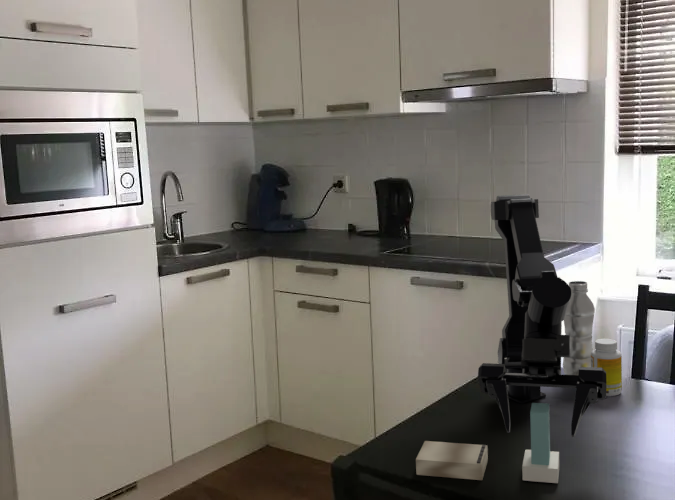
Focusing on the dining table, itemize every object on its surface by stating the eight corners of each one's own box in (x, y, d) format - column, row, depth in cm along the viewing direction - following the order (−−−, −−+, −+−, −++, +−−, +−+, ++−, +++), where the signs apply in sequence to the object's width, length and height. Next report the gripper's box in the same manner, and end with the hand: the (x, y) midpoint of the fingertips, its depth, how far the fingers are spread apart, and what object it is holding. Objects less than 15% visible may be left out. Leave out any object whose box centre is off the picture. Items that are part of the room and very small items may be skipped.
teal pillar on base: (522, 480, 110) (520, 414, 108) (525, 462, 116) (524, 399, 114) (557, 483, 108) (556, 416, 107) (559, 465, 114) (558, 401, 112)
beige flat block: (416, 474, 115) (415, 458, 114) (425, 455, 121) (424, 439, 121) (482, 480, 111) (481, 463, 111) (487, 460, 118) (487, 444, 118)
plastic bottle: (595, 373, 155) (594, 279, 152) (595, 384, 149) (594, 286, 146) (563, 372, 157) (561, 279, 154) (562, 382, 151) (560, 286, 148)
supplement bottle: (628, 394, 142) (628, 342, 141) (604, 399, 141) (604, 346, 139) (608, 385, 148) (607, 335, 146) (585, 390, 146) (584, 339, 144)
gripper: (477, 313, 115) (469, 407, 106) (605, 315, 109) (608, 415, 100) (485, 347, 124) (478, 437, 115) (604, 351, 118) (607, 446, 109)
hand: (540, 433), depth 110 cm, fingers open, 9 cm apart
